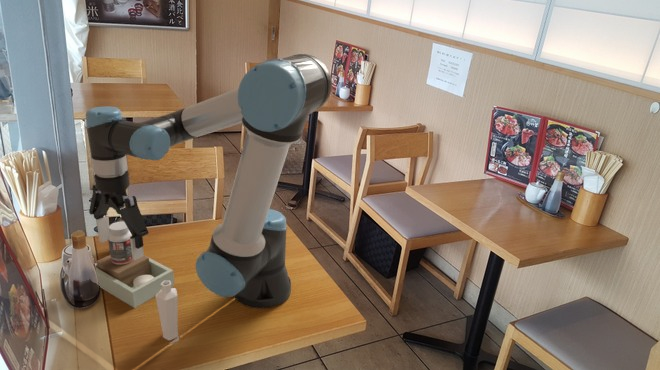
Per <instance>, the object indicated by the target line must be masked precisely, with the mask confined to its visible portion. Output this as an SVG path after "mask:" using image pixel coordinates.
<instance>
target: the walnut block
mask: <svg viewBox="0 0 660 370" xmlns="http://www.w3.org/2000/svg"><path fill="white" fill-rule="evenodd" d="M149 258H150V257H148V256H146V255H144V256H143V257H141V258H139V259H137V260H133V261H131V262H130V263H127V264H123V265H117V264H114V263H113V262H112V261H111V256H110V254H109V255H107V256H104V257H102V258H100V259H97V260H96V262H95V263H97V268H98V269H100V270H101V271H103V272H105V273H107V274H108V275H110V276H112V277H113V278H115V279H117V280H119V281H120V282H122V283H124V284H126V285H127V286H129V287H131V288H132V287H134V284H133V281H134V279H135V278H137V277H138V276H141V275H151V273H150V264H149Z"/></svg>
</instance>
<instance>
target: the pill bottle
mask: <svg viewBox="0 0 660 370" xmlns="http://www.w3.org/2000/svg"><path fill="white" fill-rule="evenodd" d="M109 232H110V234H109V235H108V240H107V241H108V247H109V248H108V249H109V255H110V256H111V261H112V262H113V263H114V264H117V265H123V264H127V263H130V262H131V261H133V257H132V249H131V241H130V236H132V234H131V233H130V231H129V229H128V227H127V226H126V224H125V222H123V221H121V222H117V221H116V222H113V223H111V224H109Z"/></svg>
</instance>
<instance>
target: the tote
mask: <svg viewBox="0 0 660 370" xmlns="http://www.w3.org/2000/svg"><path fill="white" fill-rule="evenodd" d="M148 258H149V264H150V273H151V276H153V277H154V278H153V279H151V280H150V281H148V282H146V283H144V284H142V285H140V286H139V287H137V288H135V289H134V287H132V288H131V287H129V286H127V285H126V284H124V283H122V282H120V281H119V280H117V279H115V278H113V277H112V276H110V275H108V274H107V273H105V272H103V271H101V270H100V269H98V268H97V263H96V262H95V263H94V264H95V268H96V274H97V278H98V282H99V286H100V287H99V286H98V287H99V288H101V289H103V290H104V291H106V292H107V293H109V294H110V295H112V296H114V297H115V298H117V299H118V300H120V301H122V302H124V303H125V304H128V306H130V307H131V308H134V309H136V308H138V307H139V306H141V305H142V304H145V303H146V302H148V301H150V300H151V299H153V298H154V297H155V296H156V295H157V293H158V292H159V291H160V290H161V289H162V286H161V283H162V282H163V281H171V288H173V286H174V285H175V275H174V270H173V269H171V268H170V267H168V266H166V265H163V263H160V262H158V261H156V260H154V259H152V258H151V257H148ZM155 298H156V297H155Z"/></svg>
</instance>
